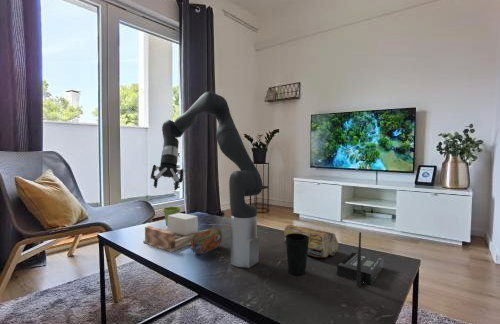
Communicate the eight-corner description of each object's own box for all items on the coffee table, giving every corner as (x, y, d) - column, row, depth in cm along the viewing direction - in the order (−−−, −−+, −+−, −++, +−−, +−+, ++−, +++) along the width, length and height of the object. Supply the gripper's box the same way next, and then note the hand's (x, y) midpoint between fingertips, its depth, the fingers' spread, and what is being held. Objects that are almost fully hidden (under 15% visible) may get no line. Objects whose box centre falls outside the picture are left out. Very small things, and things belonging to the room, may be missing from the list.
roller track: (207, 238, 128) (207, 223, 127) (171, 251, 110) (171, 234, 110) (180, 231, 138) (180, 217, 137) (143, 242, 120) (143, 227, 120)
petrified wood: (279, 248, 114) (282, 223, 116) (297, 247, 124) (300, 224, 125) (322, 260, 101) (325, 232, 102) (338, 258, 110) (341, 232, 111)
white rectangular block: (197, 231, 126) (197, 216, 126) (186, 235, 120) (186, 219, 120) (179, 227, 133) (179, 212, 133) (167, 230, 127) (167, 215, 127)
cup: (303, 279, 88) (303, 242, 88) (281, 273, 92) (281, 237, 92) (311, 270, 95) (312, 235, 94) (290, 265, 99) (291, 231, 98)
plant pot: (162, 222, 153) (162, 206, 152) (180, 221, 155) (180, 206, 155) (162, 227, 144) (162, 210, 143) (181, 226, 146) (181, 209, 146)
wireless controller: (348, 260, 105) (349, 215, 104) (388, 270, 97) (390, 221, 96) (327, 279, 89) (328, 226, 89) (373, 293, 81) (375, 235, 80)
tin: (194, 257, 106) (195, 235, 105) (189, 255, 107) (189, 233, 107) (222, 246, 117) (222, 226, 117) (216, 244, 119) (216, 225, 119)
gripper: (154, 151, 128) (149, 183, 121) (186, 156, 133) (183, 187, 126) (153, 158, 134) (148, 189, 127) (183, 163, 139) (180, 193, 132)
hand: (165, 188), depth 126 cm, fingers open, 8 cm apart
